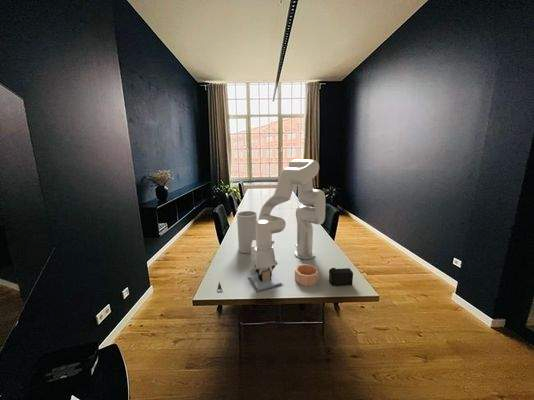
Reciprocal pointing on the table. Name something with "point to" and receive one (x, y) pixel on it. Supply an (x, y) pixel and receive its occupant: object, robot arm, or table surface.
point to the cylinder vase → (246, 230)
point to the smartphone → (219, 288)
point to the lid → (265, 280)
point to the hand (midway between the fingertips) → (265, 278)
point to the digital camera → (340, 277)
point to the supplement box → (253, 250)
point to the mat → (263, 289)
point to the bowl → (306, 274)
